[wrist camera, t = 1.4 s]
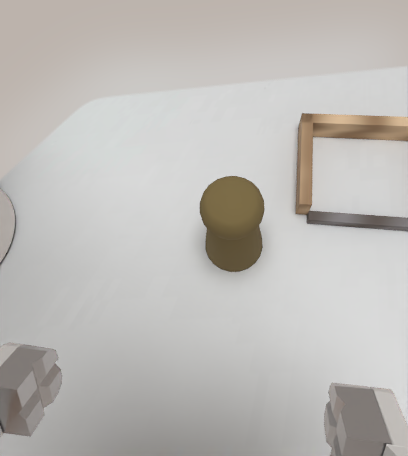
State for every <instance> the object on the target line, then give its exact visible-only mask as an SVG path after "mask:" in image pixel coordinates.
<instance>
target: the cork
mask: <svg viewBox="0 0 408 456" xmlns="http://www.w3.org/2000/svg"><path fill="white" fill-rule="evenodd" d="M200 214H201V217H202V220H203V223H204V225H205V226H206V227H207V233H206V252H207V255H208V257H209V259H210V260H211V261H212V262H213V264H214V265H216V266H217V267H219V268H220V269H222V270H226V271H229V272H238V271H242V270H245V269H248V268H249V267H251V266H252V265H253V264H255V262H256V261H257V260H258V258H259V257H260V254H261V251H262V237H261V233H260V228H259V224H260V223H261V221H262V217H263V214H264V200H263V198H262V195H261V193H260V191H259V189H258V188H257V187H256V186H255V185H254V184H253V183H252V182H250V181H249V180H247V179H245V178H241V177H237V176H228V177H223V178H220V179H217V180H216V181H214V182H213V183H211V184H210V185H209V186H208V187H207V189H206V190H205V191H204V193H203V196H202V198H201V201H200Z"/></svg>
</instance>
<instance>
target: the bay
mask: <svg viewBox="0 0 408 456" xmlns="http://www.w3.org/2000/svg"><path fill="white" fill-rule="evenodd" d="M313 137H333V138H357V139H380V140H403V141H408V117H390V116H361V115H333V114H304V113H302V116H301V120H300V124H299V128H298V159H297V190H296V214H305V215H307V223H310V224H323V225H336V226H349V227H362V228H375V229H388V230H402V231H408V218H402V217H388V216H374V215H360V214H346V213H332V212H318V211H309V210H310V207H311V205H312V154H313Z"/></svg>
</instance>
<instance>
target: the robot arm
mask: <svg viewBox="0 0 408 456" xmlns="http://www.w3.org/2000/svg"><path fill="white" fill-rule="evenodd" d="M14 229H15V214H14V209H13V206H12V203H11V201H10V199H9V198H8V196H7V195H6V194H5V193H4V192H3V191H2V190H1V189H0V262H1V261H2V259H3V258H4V256H5V254H6V253H7V251H8V249H9V246H10V244H11V241H12V238H13V234H14ZM57 360H58V355H57V352H56V350H54V349H51V348H44V347H37V346H31V345H24V344H23V345H22V344H16V343H7V344H4V345H3V346H2V347H1V348H0V436H2V435H3V433H9V434H17V435H25V436H31V435H32V434H33V432H34V430H35V429H36V427H37V426H38V424H39V423H40V421H41V420H42V418H43V417H44V407H46V406H47V405H49V404H51V403H52V402H53V401H54V399H55V398H56V396H57V395H58V393H59V390H60V387H61V384H62V373H61V369H60V368H59V367H58V366H57V365H56V364H55V362H56V361H57ZM328 393H329V398H330V402H328V403H327V404H326V407H325V413H324V427H325V435H326V442H327V443H328V444H329V445H330V447H331V448H332V450H331V454H330V456H408V426H407V423H406V421H405V419H404V416H403V414H402V411H401V409H400V407H399V404H398V402H397V400H396V397H395V395H394V393H393V392H392V391H391V390H390V389H384V388H375V387H367V386H358V385H349V384H340V383H331V385H330V388H329V392H328Z"/></svg>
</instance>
